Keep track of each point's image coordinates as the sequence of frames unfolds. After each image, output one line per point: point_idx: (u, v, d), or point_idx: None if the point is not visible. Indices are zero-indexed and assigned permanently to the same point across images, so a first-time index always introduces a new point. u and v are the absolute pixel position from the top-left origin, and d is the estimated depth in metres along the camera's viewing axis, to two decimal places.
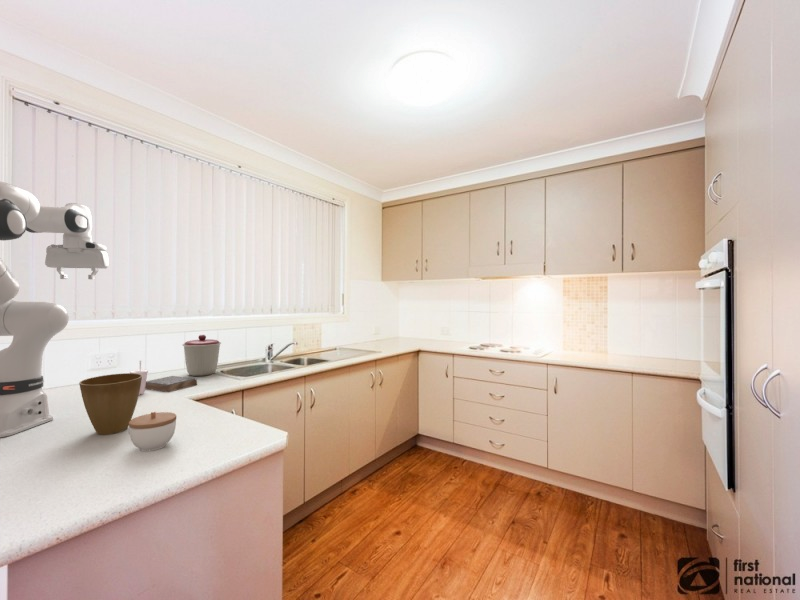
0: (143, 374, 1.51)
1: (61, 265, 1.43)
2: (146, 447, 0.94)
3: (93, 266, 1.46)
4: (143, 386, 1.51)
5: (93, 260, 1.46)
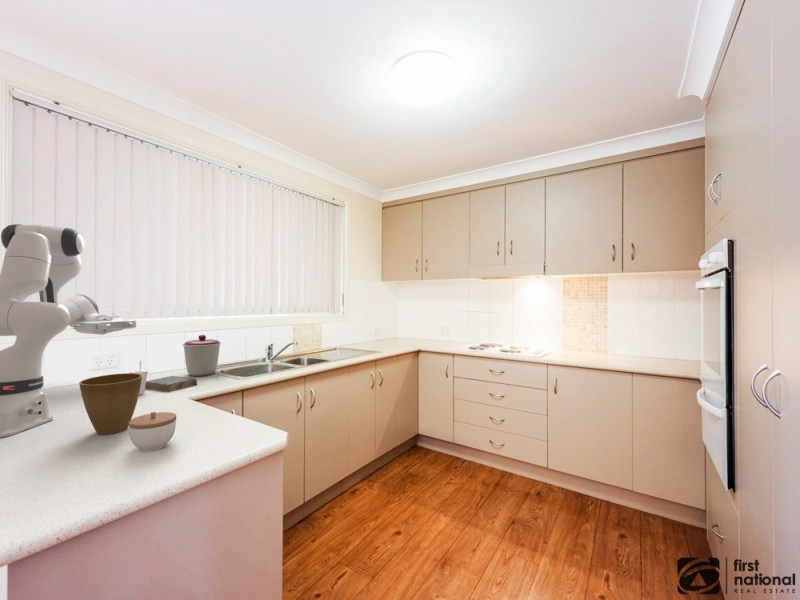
0: (143, 374, 1.51)
1: (100, 321, 1.54)
2: (146, 447, 0.94)
3: (128, 320, 1.64)
4: (143, 386, 1.51)
5: (124, 320, 1.64)
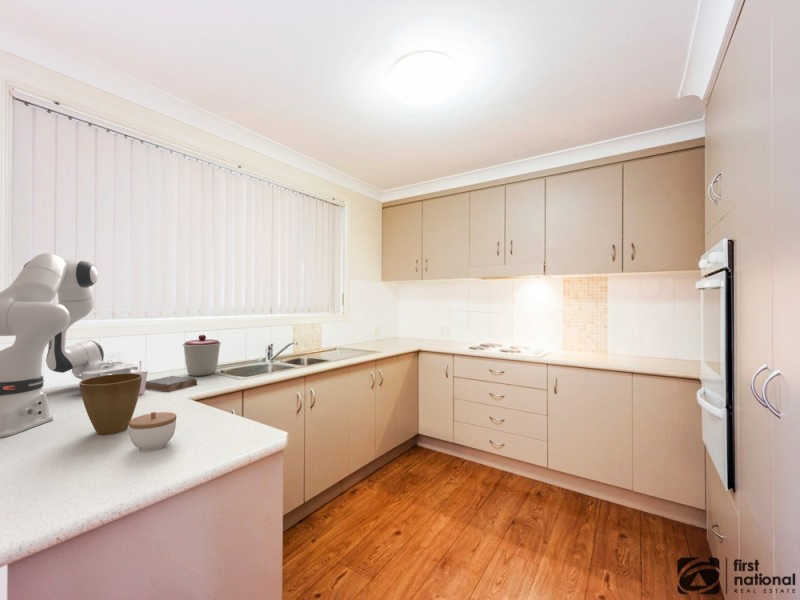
0: (143, 374, 1.51)
1: (102, 371, 1.53)
2: (146, 447, 0.94)
3: (130, 366, 1.63)
4: (143, 386, 1.51)
5: (125, 366, 1.64)
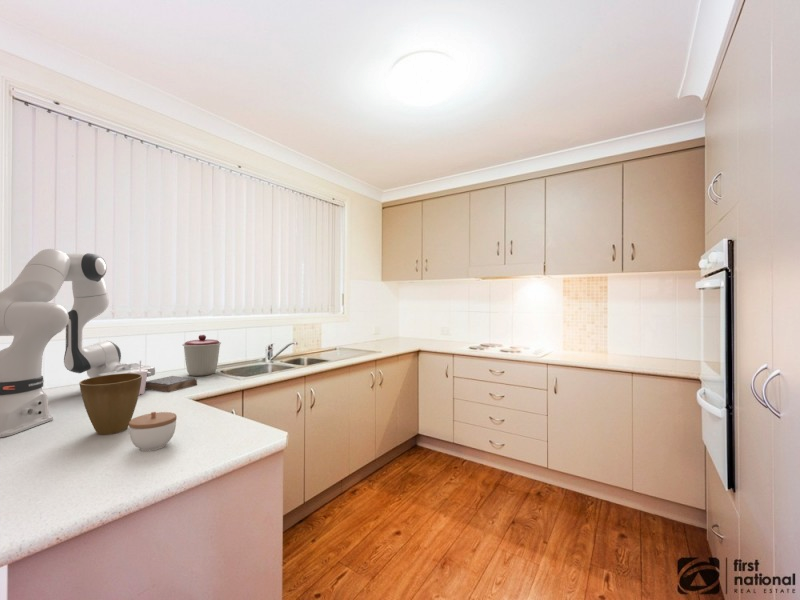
0: (143, 374, 1.51)
1: (120, 373, 1.49)
2: (146, 447, 0.94)
3: (147, 368, 1.59)
4: (143, 386, 1.51)
5: (143, 368, 1.60)
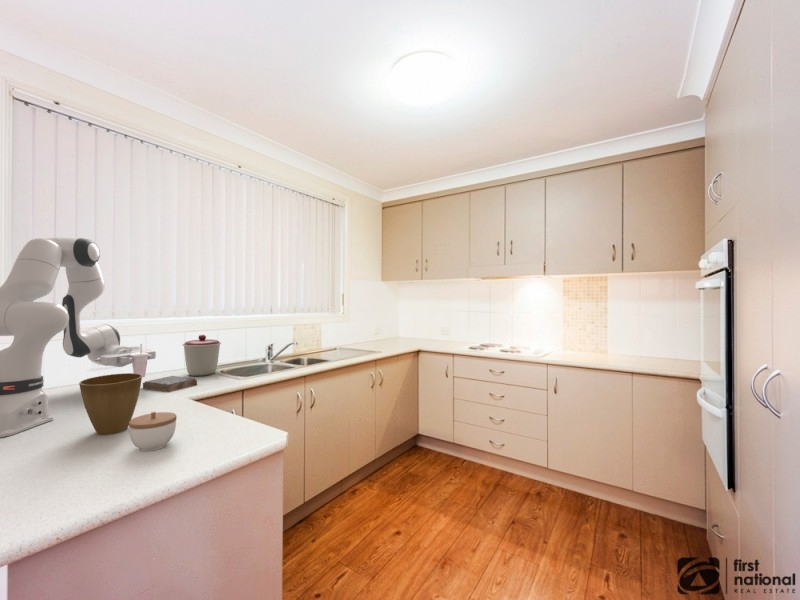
0: (144, 357, 1.51)
1: (121, 355, 1.49)
2: (146, 447, 0.94)
3: (147, 351, 1.59)
4: (144, 369, 1.52)
5: (143, 351, 1.60)
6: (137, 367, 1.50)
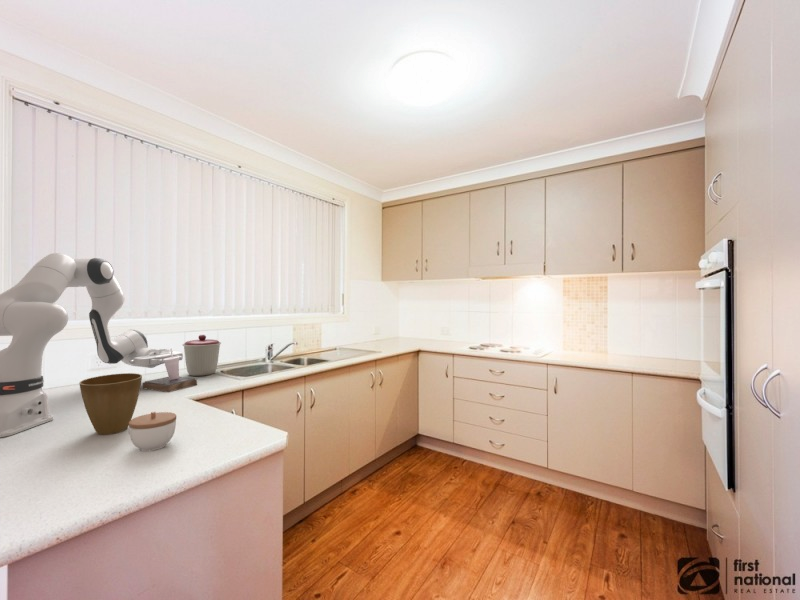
0: (175, 360, 1.65)
1: (153, 356, 1.62)
2: (146, 447, 0.94)
3: (175, 353, 1.73)
4: (177, 371, 1.66)
5: None
6: (170, 369, 1.64)
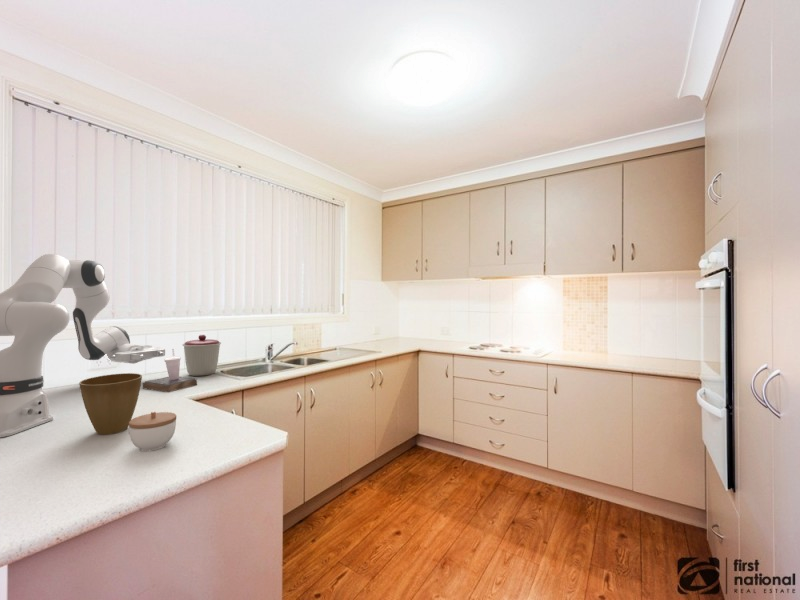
0: (177, 361, 1.65)
1: (134, 352, 1.64)
2: (146, 447, 0.94)
3: (158, 349, 1.74)
4: (177, 371, 1.66)
5: (154, 349, 1.75)
6: (171, 370, 1.64)
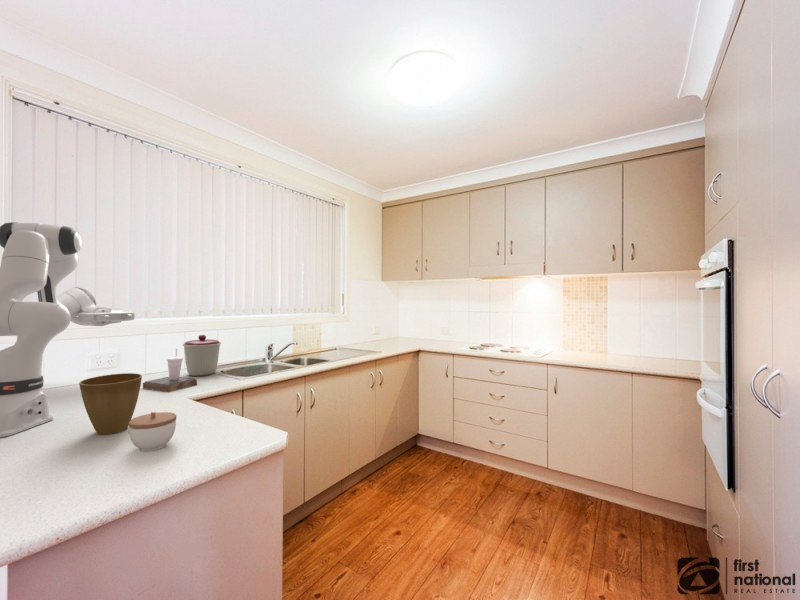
0: (178, 361, 1.65)
1: (99, 313, 1.55)
2: (146, 447, 0.94)
3: (126, 312, 1.65)
4: (178, 372, 1.66)
5: None
6: (172, 369, 1.64)
